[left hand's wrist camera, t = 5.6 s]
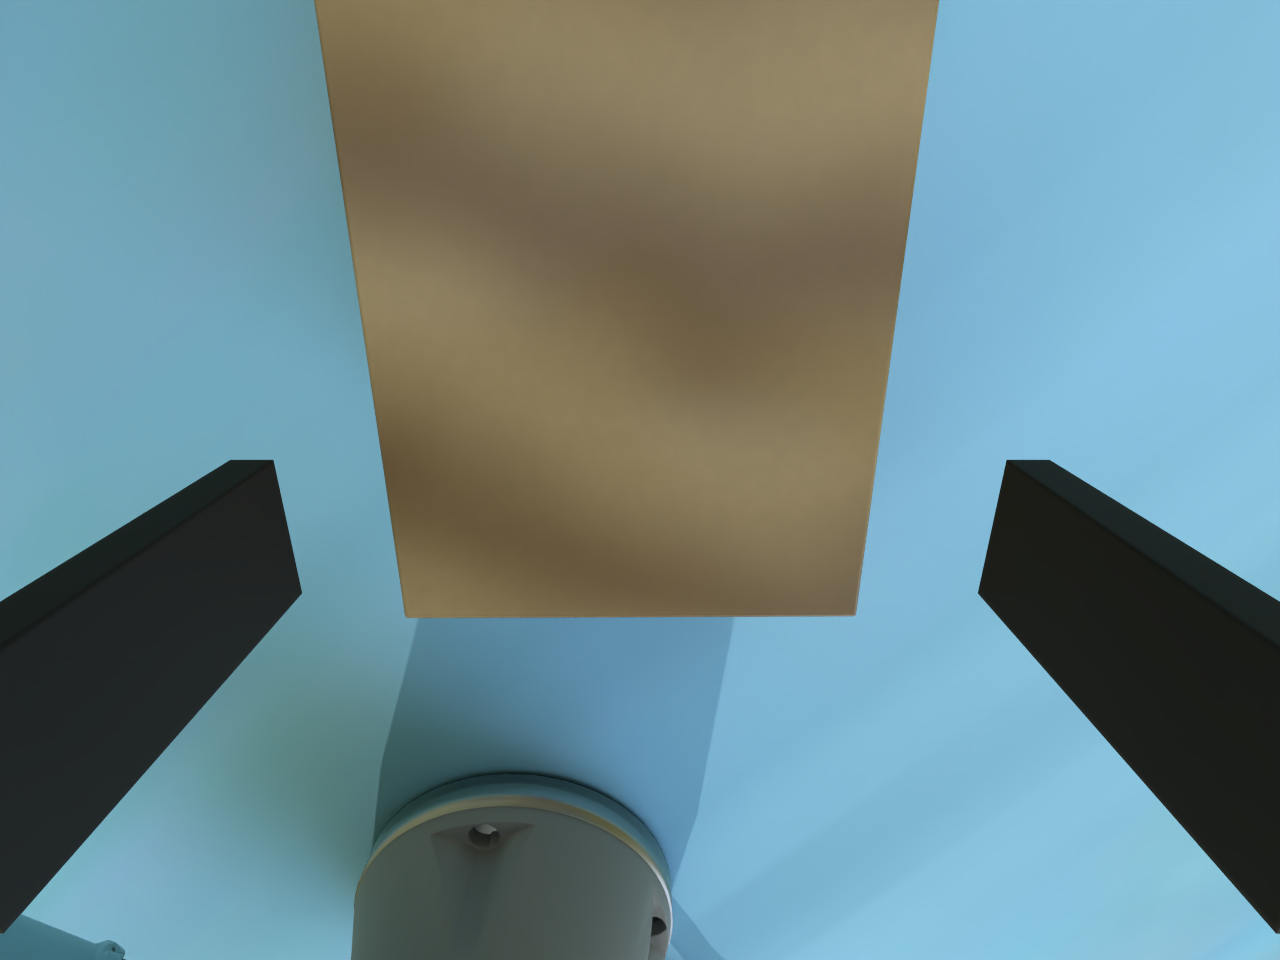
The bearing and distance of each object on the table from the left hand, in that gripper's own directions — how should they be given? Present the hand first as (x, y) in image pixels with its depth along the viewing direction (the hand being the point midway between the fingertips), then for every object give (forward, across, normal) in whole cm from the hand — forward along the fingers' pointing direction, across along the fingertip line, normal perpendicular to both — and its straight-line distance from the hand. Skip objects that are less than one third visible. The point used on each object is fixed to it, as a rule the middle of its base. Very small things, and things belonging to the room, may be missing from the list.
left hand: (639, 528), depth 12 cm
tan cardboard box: (+13, 0, -5) cm, 14 cm away
